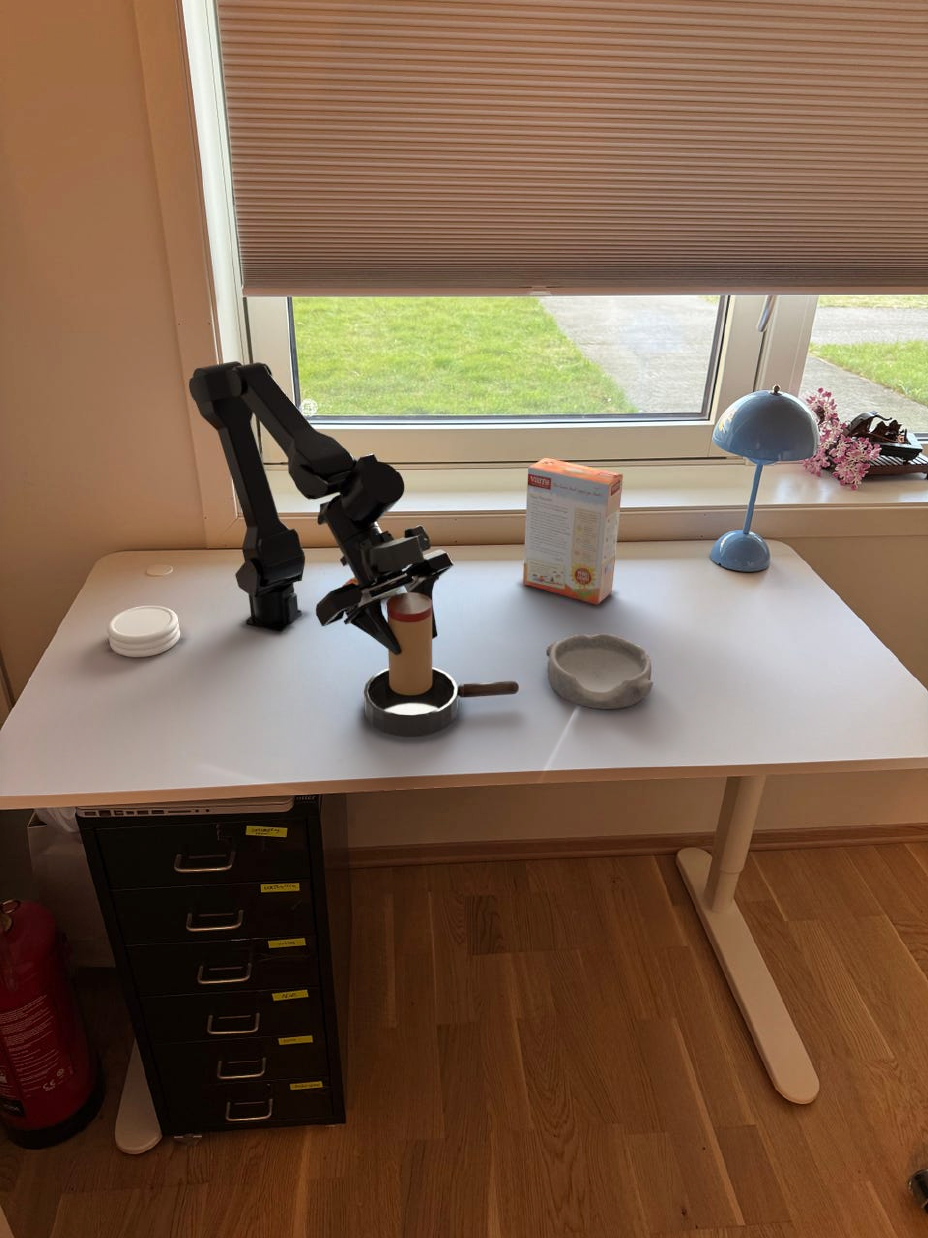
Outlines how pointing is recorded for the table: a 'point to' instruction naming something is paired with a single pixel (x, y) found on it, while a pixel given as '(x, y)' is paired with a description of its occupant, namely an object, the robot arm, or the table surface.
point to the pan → (411, 706)
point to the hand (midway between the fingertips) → (417, 645)
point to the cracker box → (571, 529)
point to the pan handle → (487, 689)
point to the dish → (599, 671)
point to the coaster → (143, 631)
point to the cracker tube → (411, 643)
